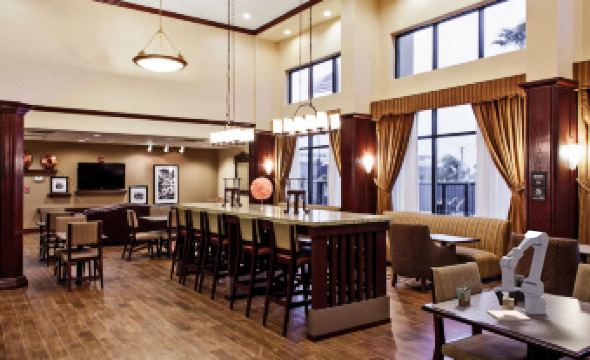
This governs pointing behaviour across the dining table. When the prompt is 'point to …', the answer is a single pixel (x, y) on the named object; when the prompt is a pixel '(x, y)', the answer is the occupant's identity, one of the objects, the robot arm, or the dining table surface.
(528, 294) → the robot arm
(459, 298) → the food container
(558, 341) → the dining table surface
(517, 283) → the milk frother
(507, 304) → the oak cube
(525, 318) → the painted board
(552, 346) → the dining table surface
